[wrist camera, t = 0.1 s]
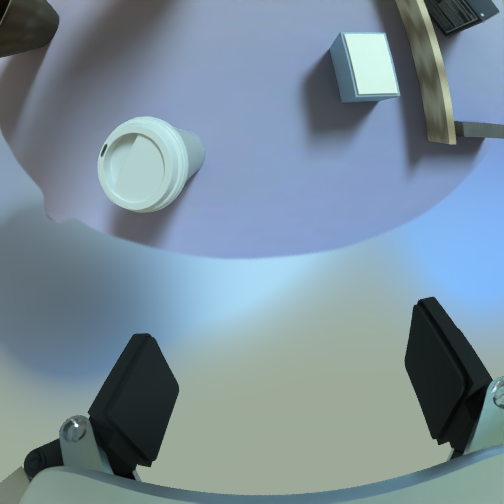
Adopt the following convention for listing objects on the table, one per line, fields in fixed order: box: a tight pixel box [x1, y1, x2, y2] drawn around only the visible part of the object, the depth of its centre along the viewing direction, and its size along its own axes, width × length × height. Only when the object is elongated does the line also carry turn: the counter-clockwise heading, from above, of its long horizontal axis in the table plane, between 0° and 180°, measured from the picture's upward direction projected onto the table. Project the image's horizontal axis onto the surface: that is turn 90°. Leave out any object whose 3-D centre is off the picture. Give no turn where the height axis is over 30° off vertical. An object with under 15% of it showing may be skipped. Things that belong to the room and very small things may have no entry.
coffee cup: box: [98, 116, 205, 213], centre depth 30 cm, size 10×10×15 cm
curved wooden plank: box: [395, 0, 456, 144], centre depth 23 cm, size 32×14×6 cm, turn 11°
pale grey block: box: [329, 32, 400, 103], centre depth 27 cm, size 8×6×8 cm
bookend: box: [454, 121, 504, 138], centre depth 28 cm, size 2×10×6 cm, turn 101°
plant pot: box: [0, 0, 59, 58], centre depth 21 cm, size 15×15×16 cm
